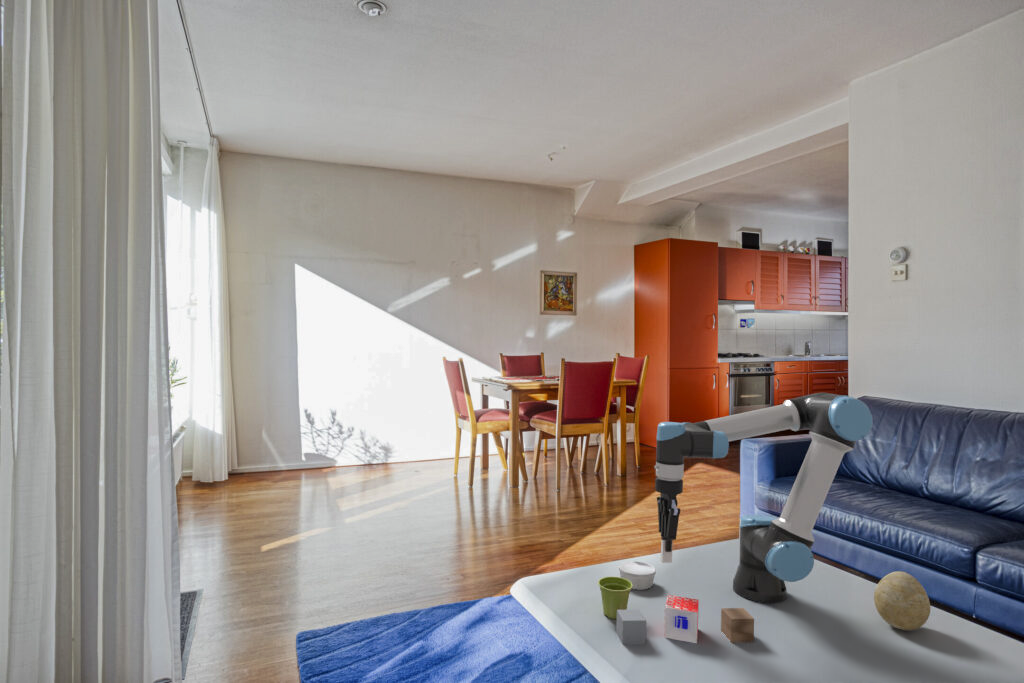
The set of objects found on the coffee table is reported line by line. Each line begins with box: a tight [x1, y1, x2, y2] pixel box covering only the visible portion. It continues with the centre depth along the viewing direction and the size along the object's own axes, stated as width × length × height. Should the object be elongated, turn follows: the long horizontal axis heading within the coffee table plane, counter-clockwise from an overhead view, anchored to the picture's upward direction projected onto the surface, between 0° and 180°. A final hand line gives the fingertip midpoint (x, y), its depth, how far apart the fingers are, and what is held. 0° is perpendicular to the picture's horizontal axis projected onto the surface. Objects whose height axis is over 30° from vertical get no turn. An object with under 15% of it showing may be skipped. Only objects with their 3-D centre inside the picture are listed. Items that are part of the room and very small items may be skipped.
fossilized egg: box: [873, 570, 931, 631], centre depth 161 cm, size 13×13×15 cm
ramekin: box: [618, 560, 657, 591], centre depth 186 cm, size 11×11×5 cm
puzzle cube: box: [664, 594, 700, 644], centre depth 156 cm, size 8×8×8 cm
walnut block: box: [720, 607, 755, 643], centre depth 155 cm, size 6×6×6 cm
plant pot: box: [597, 576, 633, 620], centre depth 166 cm, size 9×9×9 cm
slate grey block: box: [615, 609, 647, 645], centre depth 153 cm, size 6×6×6 cm
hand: (666, 561), depth 168 cm, fingers closed
